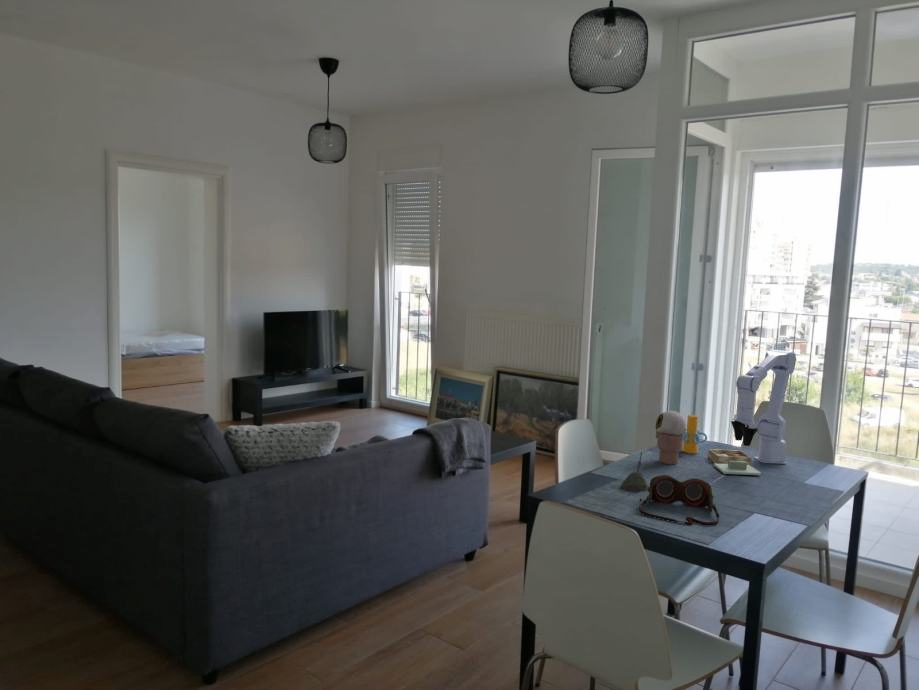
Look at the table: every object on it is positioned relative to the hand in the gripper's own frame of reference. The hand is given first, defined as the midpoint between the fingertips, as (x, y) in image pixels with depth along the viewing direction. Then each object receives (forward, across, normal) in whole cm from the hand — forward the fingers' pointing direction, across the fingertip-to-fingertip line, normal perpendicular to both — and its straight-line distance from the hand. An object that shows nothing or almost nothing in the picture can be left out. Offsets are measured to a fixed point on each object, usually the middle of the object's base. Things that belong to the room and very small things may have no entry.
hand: (742, 442), depth 266 cm
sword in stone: (+10, +28, -47) cm, 55 cm away
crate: (+10, -10, 0) cm, 14 cm away
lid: (+10, +3, -2) cm, 10 cm away
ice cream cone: (+10, -6, -26) cm, 28 cm away
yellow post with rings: (+10, -23, -12) cm, 28 cm away
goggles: (+10, +49, -40) cm, 64 cm away
